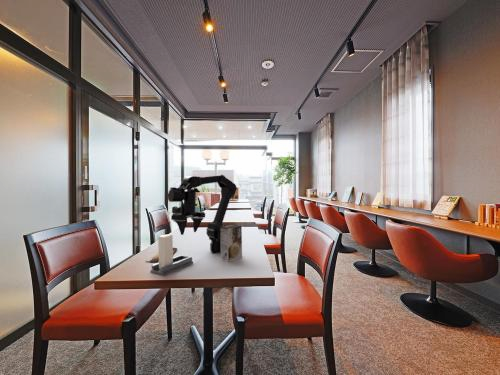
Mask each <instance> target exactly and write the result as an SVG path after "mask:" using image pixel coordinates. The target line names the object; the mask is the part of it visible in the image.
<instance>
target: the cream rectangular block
mask: <svg viewBox="0 0 500 375" xmlns="http://www.w3.org/2000/svg"><path fill="white" fill-rule="evenodd" d="M173 238H174V237H173V234H163V235H158V237H157V240H158V241H157V242H158V252H159V262H158V263H159V269H161V267H164V266H167V265H169V264H172V263H173V257H174V253H173V248H174V247H173V243H174V242H173Z"/></svg>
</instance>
